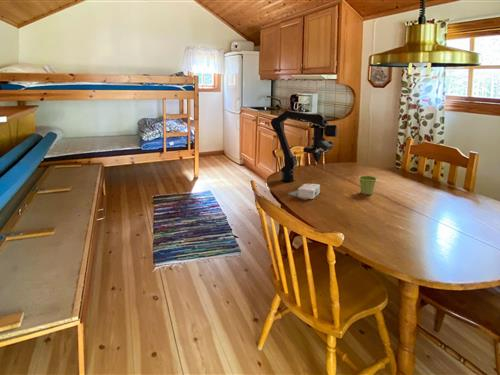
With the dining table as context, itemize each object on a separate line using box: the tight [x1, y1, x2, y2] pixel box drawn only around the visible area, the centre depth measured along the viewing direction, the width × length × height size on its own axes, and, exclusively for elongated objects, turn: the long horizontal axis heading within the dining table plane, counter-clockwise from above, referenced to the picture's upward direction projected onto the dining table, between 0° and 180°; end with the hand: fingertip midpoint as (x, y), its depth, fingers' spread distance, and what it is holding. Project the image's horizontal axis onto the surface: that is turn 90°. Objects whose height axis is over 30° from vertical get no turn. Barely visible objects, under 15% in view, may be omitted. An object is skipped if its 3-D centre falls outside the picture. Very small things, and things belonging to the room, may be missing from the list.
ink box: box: [297, 182, 321, 200], centre depth 197 cm, size 9×5×12 cm
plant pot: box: [358, 175, 378, 195], centre depth 199 cm, size 9×9×9 cm
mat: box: [287, 189, 319, 201], centre depth 199 cm, size 13×11×1 cm
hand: (317, 162), depth 213 cm, fingers closed
